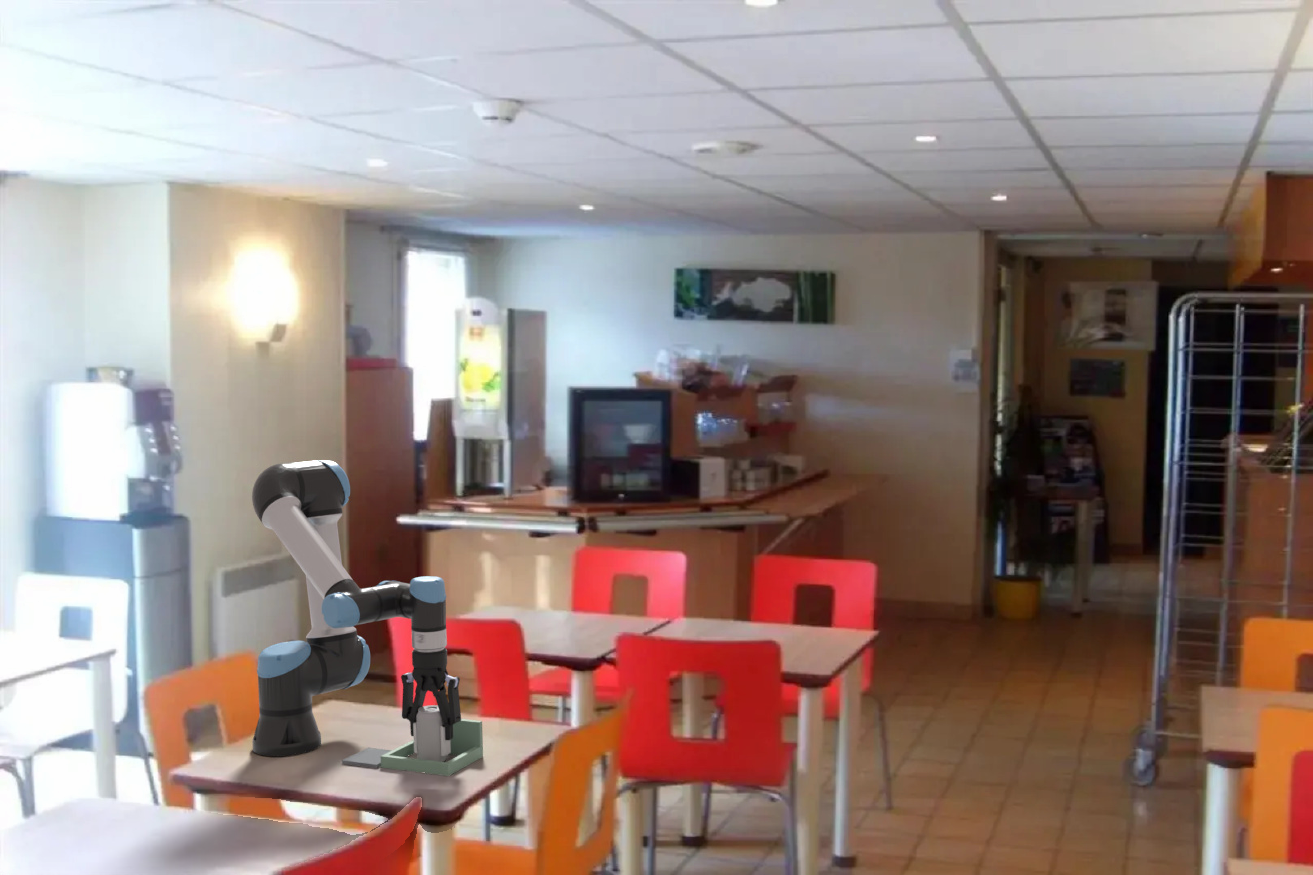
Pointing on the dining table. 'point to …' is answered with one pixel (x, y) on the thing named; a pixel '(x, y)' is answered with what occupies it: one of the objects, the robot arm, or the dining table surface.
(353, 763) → the mat
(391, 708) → the dining table surface
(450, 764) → the green tray
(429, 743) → the beverage can
